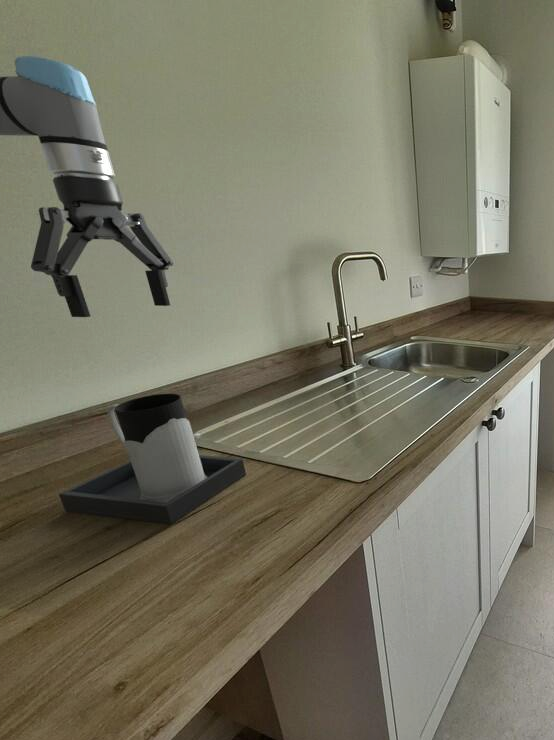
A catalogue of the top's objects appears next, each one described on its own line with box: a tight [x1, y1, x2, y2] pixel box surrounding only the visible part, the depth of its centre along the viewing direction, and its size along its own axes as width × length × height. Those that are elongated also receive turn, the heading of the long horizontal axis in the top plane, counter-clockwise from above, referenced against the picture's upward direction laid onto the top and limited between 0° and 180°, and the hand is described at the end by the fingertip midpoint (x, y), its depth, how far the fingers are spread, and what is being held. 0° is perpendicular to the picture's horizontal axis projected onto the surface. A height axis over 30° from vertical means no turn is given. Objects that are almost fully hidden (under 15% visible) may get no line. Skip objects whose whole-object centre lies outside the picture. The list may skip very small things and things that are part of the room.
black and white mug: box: [107, 393, 207, 502], centre depth 63 cm, size 9×14×15 cm, turn 73°
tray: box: [58, 454, 247, 525], centre depth 65 cm, size 19×14×3 cm
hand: (125, 310), depth 73 cm, fingers open, 13 cm apart
